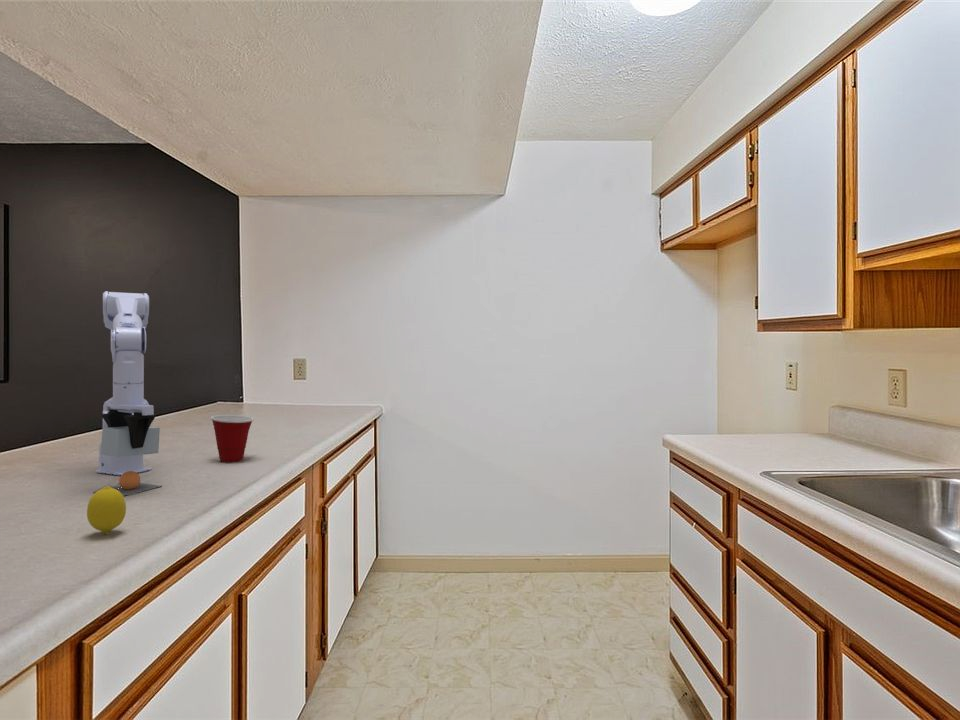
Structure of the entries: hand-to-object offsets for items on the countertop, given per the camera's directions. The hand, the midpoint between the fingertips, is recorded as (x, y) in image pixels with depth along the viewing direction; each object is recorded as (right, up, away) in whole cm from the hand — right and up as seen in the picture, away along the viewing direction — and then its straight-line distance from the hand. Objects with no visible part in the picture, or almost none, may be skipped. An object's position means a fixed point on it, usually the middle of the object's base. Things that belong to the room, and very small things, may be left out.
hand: (128, 446), depth 129 cm
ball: (0, -7, 0) cm, 7 cm away
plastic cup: (+9, -9, +33) cm, 36 cm away
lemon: (+13, -11, -29) cm, 33 cm away
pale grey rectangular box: (0, -2, 0) cm, 2 cm away
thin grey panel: (0, -9, 0) cm, 9 cm away
